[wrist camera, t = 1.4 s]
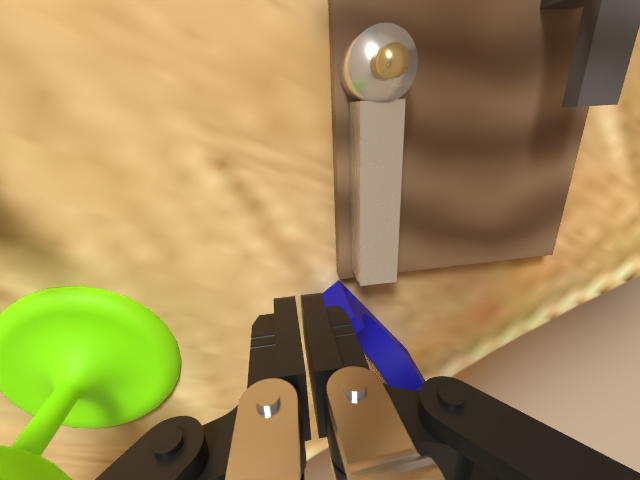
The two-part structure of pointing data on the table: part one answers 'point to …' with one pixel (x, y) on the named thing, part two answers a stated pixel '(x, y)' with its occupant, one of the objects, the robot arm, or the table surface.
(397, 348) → the cable clip
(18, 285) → the table surface
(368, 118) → the link
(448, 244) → the board
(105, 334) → the wineglass
